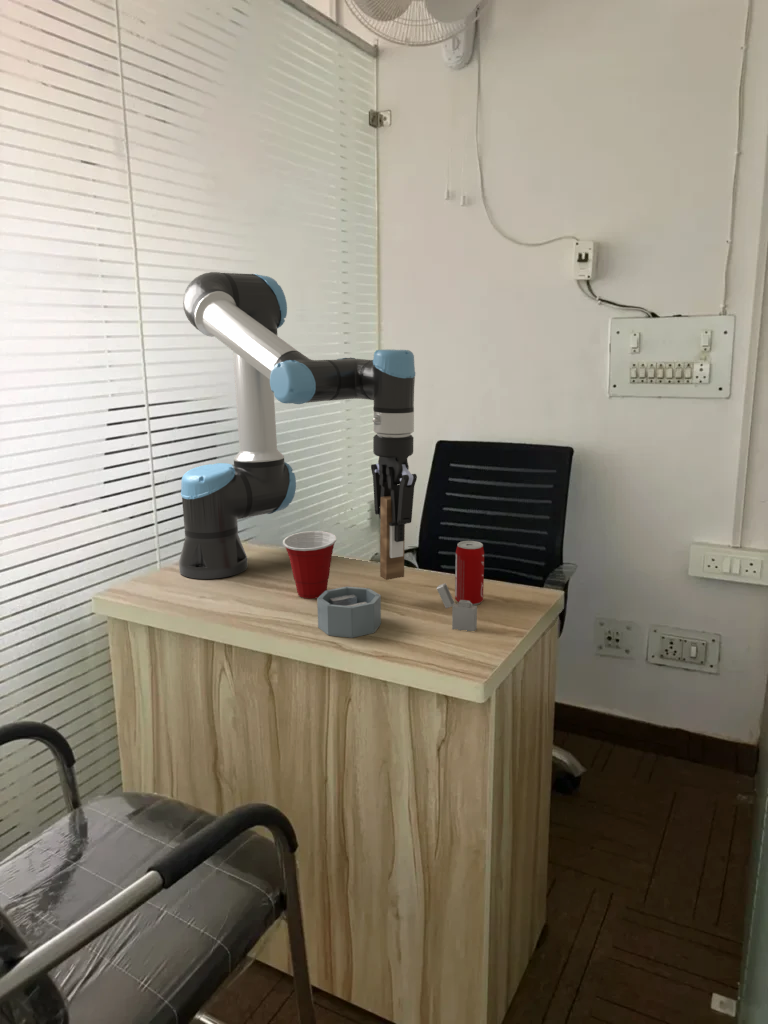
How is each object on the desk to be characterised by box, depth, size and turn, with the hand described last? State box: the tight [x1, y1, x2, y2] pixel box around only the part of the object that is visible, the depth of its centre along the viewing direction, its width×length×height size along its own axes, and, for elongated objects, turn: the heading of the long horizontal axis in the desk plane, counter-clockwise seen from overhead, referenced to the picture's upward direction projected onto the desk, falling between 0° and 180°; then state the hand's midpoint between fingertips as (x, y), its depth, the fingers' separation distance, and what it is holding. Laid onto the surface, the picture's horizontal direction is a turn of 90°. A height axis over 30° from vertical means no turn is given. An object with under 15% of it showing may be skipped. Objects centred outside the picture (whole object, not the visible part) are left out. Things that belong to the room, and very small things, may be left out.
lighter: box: [436, 582, 478, 632], centre depth 132 cm, size 7×2×8 cm, turn 68°
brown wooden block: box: [379, 496, 406, 581], centre depth 143 cm, size 2×4×16 cm, turn 120°
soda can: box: [454, 540, 485, 606], centre depth 145 cm, size 6×6×12 cm
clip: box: [329, 594, 366, 606], centre depth 134 cm, size 6×5×4 cm
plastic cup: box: [282, 530, 337, 599], centre depth 150 cm, size 11×11×12 cm
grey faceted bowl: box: [316, 586, 382, 639], centre depth 134 cm, size 11×11×6 cm
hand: (392, 554), depth 144 cm, fingers closed on brown wooden block, 2 cm apart
